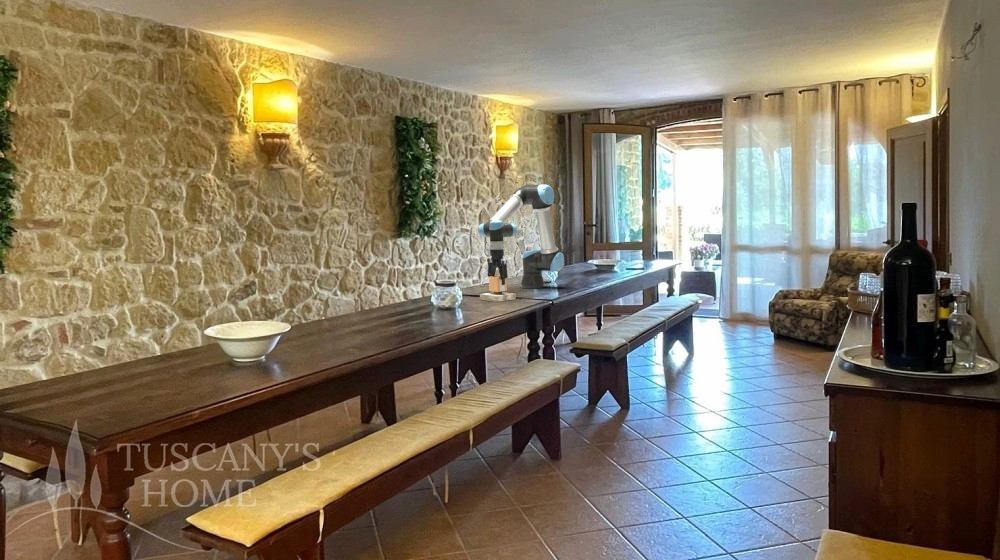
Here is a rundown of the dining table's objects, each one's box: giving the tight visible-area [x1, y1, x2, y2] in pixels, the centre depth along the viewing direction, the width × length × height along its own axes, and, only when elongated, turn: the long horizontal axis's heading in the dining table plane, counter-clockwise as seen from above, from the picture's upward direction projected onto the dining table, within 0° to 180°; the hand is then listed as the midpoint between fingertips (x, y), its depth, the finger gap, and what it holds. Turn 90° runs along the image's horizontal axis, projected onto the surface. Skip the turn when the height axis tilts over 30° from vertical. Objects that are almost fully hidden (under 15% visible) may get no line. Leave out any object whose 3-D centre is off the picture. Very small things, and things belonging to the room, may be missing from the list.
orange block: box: [488, 274, 508, 293], centre depth 385 cm, size 7×7×8 cm
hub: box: [479, 291, 517, 303], centre depth 386 cm, size 14×14×7 cm
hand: (497, 290), depth 386 cm, fingers closed on orange block, 7 cm apart
